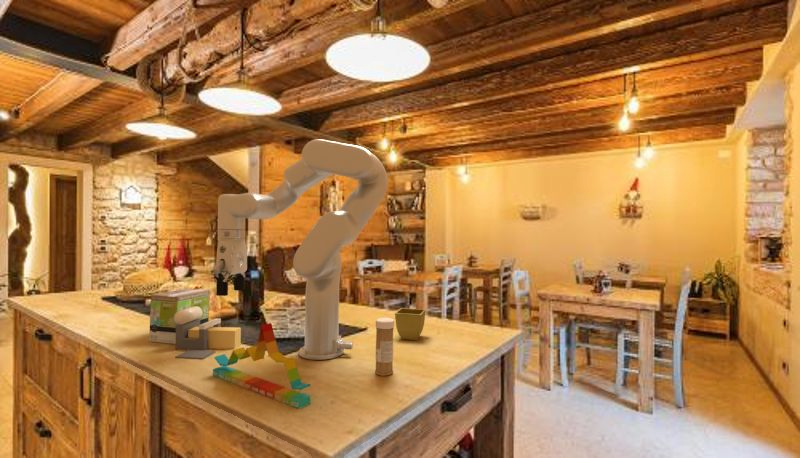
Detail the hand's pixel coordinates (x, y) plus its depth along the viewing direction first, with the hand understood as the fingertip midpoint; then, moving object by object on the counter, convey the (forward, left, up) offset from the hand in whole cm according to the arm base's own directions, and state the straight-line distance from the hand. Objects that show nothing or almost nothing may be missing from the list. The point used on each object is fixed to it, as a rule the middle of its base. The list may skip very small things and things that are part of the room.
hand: (231, 292), depth 119 cm
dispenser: (+10, 0, -16) cm, 19 cm away
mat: (+5, +8, -16) cm, 19 cm away
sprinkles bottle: (-49, +15, -16) cm, 53 cm away
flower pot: (-53, -18, -16) cm, 58 cm away
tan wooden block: (+5, 0, -16) cm, 17 cm away
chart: (-22, +28, -17) cm, 39 cm away
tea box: (+21, -8, -17) cm, 28 cm away
